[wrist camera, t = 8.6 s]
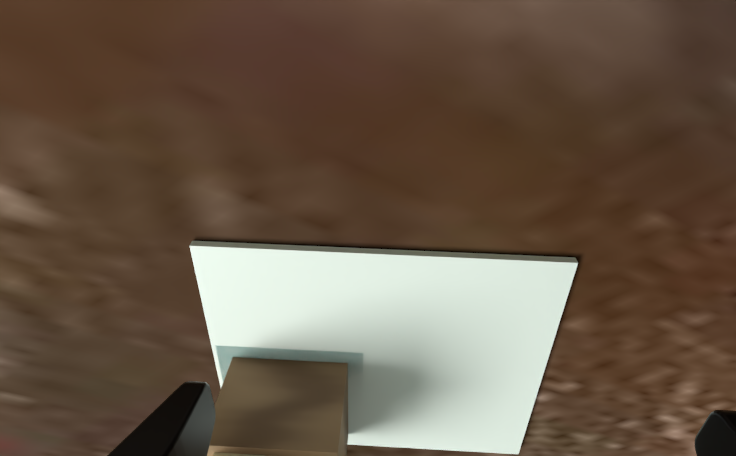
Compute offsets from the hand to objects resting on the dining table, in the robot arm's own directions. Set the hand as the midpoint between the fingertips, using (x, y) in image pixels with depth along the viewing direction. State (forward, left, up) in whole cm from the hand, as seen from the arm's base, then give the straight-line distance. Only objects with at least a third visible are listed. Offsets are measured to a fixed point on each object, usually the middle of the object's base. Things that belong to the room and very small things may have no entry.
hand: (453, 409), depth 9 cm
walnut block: (+6, +15, -12) cm, 20 cm away
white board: (+1, +12, -12) cm, 17 cm away
